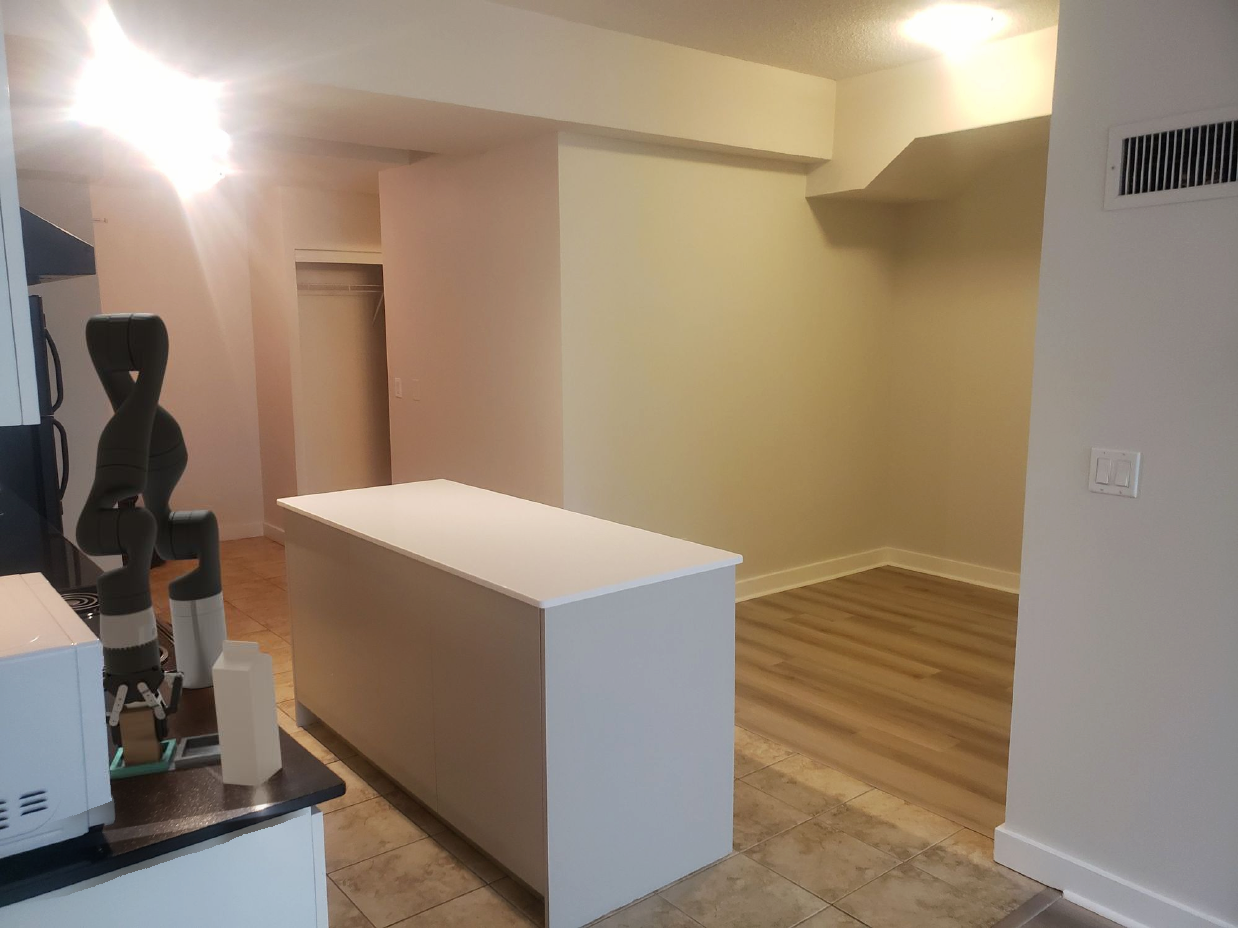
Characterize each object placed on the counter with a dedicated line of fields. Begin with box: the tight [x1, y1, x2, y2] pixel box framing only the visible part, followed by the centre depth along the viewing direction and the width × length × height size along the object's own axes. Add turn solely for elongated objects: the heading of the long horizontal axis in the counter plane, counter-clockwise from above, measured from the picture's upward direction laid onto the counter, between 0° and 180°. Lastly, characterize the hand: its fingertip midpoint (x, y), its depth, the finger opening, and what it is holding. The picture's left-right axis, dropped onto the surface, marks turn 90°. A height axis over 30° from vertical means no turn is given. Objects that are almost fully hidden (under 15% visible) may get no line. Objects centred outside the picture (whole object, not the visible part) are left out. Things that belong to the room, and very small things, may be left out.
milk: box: [212, 640, 283, 787], centre depth 137 cm, size 6×6×22 cm
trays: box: [109, 732, 221, 780], centre depth 145 cm, size 9×18×2 cm, turn 107°
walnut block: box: [119, 702, 163, 766], centre depth 143 cm, size 4×4×9 cm
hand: (142, 742), depth 143 cm, fingers open, 5 cm apart
